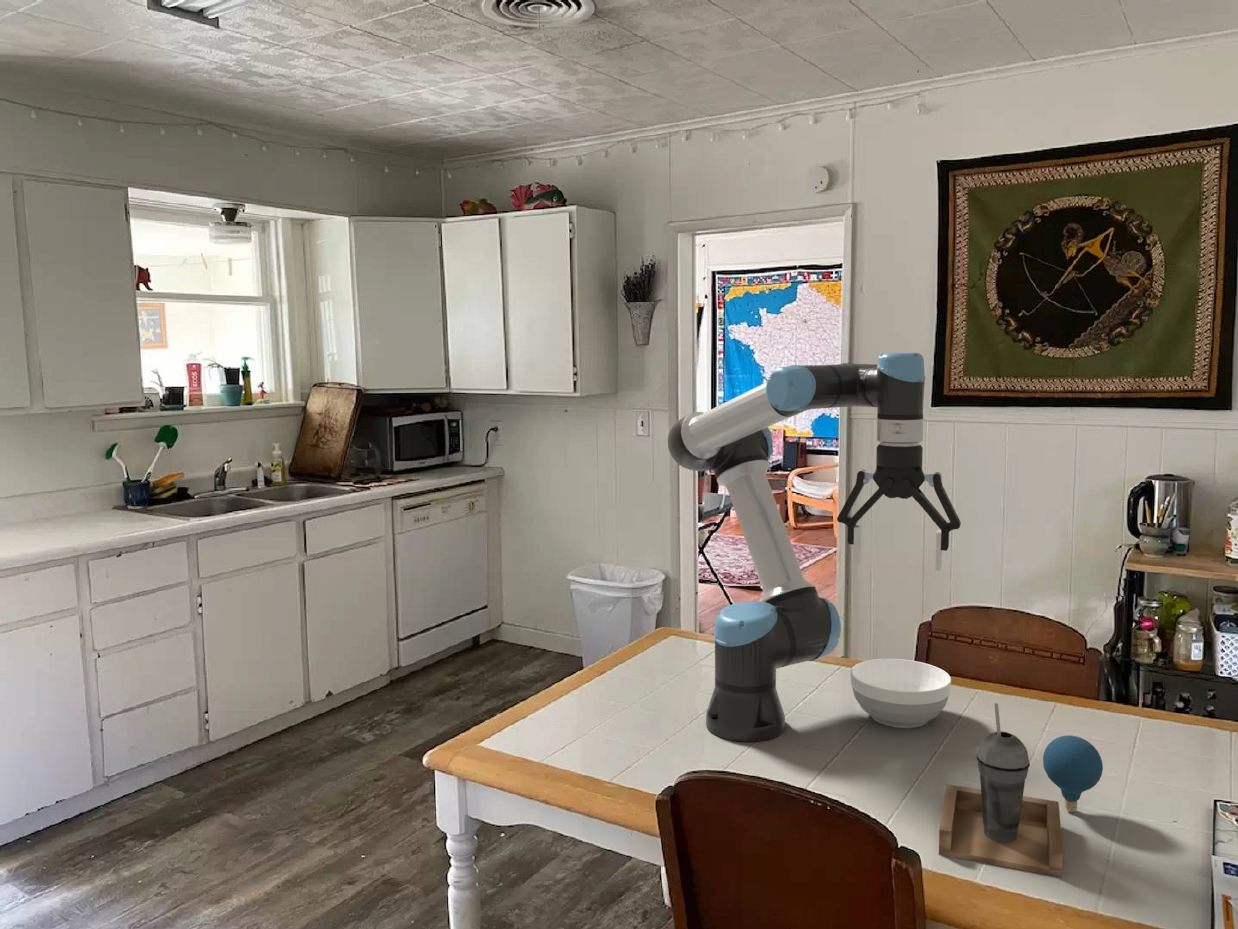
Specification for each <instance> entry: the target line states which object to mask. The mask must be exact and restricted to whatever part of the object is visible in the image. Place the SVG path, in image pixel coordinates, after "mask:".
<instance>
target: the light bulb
mask: <svg viewBox="0 0 1238 929" xmlns="http://www.w3.org/2000/svg"><path fill="white" fill-rule="evenodd" d="M1042 764H1043V769H1044V771H1045V774H1046V775H1047V777H1048V779H1049V780H1050V781H1051V782H1052V783H1053V784H1054V785H1056V786H1057V787H1058V788H1059V789H1060V792H1061V797H1062V798H1063V808H1064V809H1065V810H1066V811H1068V812H1070V813H1071V812H1073V813H1074V812H1075V811H1077V810H1078V801H1079V800H1080V799H1081V796H1082V793H1084V792H1087V791H1088V790H1091V789H1092V788H1094V787H1095V786H1097V785H1098V783H1099V781H1100V779H1101V777H1102V775H1103V771H1104V766H1103V760H1102V757H1101V755H1100V753H1099V751H1098V749H1096V747H1095V746H1094V745H1093V744H1092V743H1090V741H1089V740H1086V739H1084V738H1083V737H1079V736H1078V735H1077V736H1075V735H1062V736H1058V737H1056V738H1055V739H1053V740H1051V741H1050V742H1049V743H1048V744H1047V746H1046V748H1045V749H1044V751H1043V754H1042Z"/></svg>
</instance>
